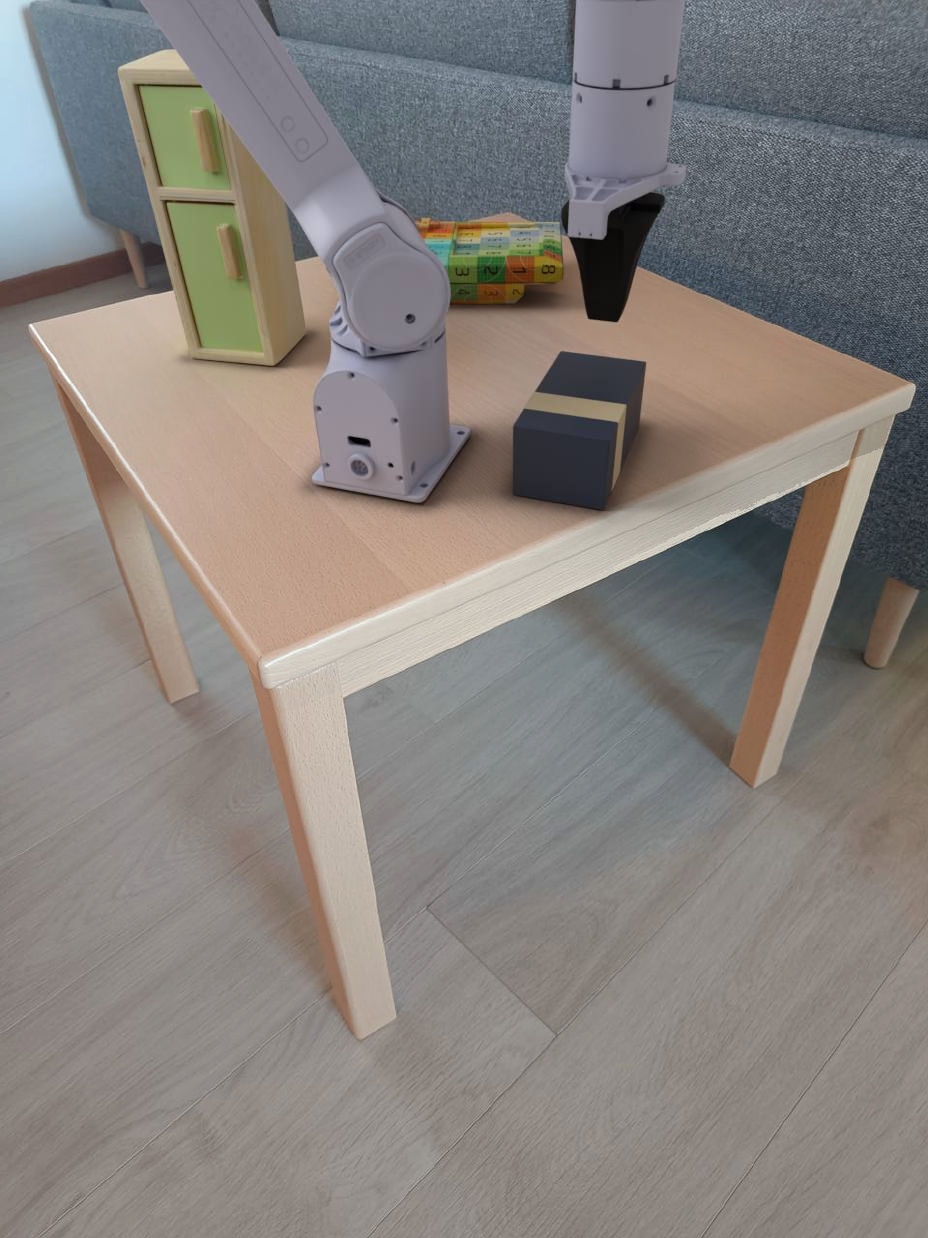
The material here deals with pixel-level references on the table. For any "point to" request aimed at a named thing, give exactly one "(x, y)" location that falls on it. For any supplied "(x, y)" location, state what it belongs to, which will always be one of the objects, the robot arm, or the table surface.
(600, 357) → the carton
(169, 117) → the toy refrigerator
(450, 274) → the puzzle game
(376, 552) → the table surface
